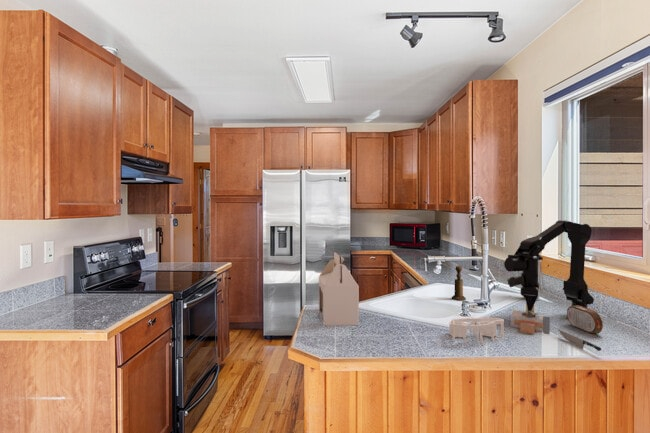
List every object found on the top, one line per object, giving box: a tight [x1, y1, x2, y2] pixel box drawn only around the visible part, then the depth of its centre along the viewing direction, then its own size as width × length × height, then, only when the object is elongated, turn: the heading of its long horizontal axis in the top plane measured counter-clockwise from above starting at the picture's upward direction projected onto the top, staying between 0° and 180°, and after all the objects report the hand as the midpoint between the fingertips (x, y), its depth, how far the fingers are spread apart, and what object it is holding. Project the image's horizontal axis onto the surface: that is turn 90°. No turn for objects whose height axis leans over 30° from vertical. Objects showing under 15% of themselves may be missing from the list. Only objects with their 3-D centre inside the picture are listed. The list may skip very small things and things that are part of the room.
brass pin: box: [525, 302, 535, 313], centre depth 155 cm, size 3×3×10 cm
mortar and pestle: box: [451, 265, 467, 302], centre depth 186 cm, size 7×6×18 cm
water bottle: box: [536, 253, 544, 301], centre depth 190 cm, size 9×8×25 cm
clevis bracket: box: [510, 309, 544, 335], centre depth 143 cm, size 16×10×5 cm
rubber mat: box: [543, 315, 551, 335], centre depth 150 cm, size 26×14×1 cm, turn 149°
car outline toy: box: [448, 317, 505, 344], centre depth 130 cm, size 20×11×7 cm, turn 95°
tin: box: [566, 305, 604, 334], centre depth 142 cm, size 15×3×8 cm, turn 4°
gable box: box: [318, 251, 360, 326], centre depth 150 cm, size 22×13×28 cm, turn 6°
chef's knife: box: [557, 328, 602, 352], centre depth 124 cm, size 19×1×3 cm, turn 4°
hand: (530, 308), depth 155 cm, fingers open, 9 cm apart
